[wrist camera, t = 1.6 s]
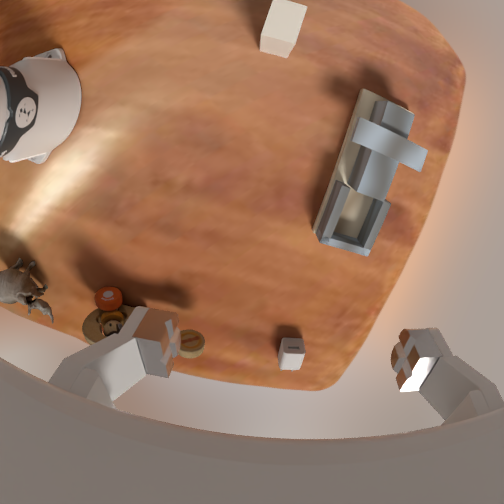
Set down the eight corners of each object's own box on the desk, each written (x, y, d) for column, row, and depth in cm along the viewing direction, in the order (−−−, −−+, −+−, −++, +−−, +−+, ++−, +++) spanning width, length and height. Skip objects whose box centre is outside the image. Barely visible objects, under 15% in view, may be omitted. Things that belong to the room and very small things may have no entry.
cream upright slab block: (259, 50, 29) (260, 34, 22) (270, 19, 27) (274, -3, 20) (286, 58, 30) (295, 44, 22) (297, 26, 27) (307, 6, 20)
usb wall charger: (303, 338, 50) (306, 354, 46) (295, 362, 53) (297, 378, 50) (281, 337, 50) (283, 353, 46) (275, 361, 53) (276, 377, 49)
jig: (305, 227, 40) (313, 246, 35) (353, 86, 31) (370, 82, 25) (365, 245, 41) (379, 265, 36) (414, 116, 32) (437, 119, 27)
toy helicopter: (96, 282, 45) (59, 333, 33) (210, 303, 46) (197, 366, 34) (103, 317, 49) (73, 369, 37) (207, 338, 50) (196, 399, 38)
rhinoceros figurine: (-9, 246, 39) (-19, 301, 30) (47, 242, 48) (48, 295, 39) (-2, 275, 43) (-7, 329, 34) (50, 271, 52) (54, 324, 43)
